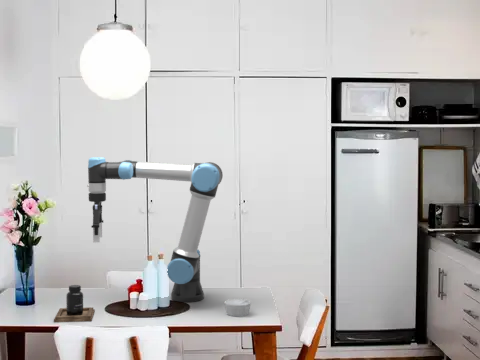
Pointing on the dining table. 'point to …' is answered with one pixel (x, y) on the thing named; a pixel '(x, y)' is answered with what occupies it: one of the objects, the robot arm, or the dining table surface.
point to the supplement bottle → (74, 301)
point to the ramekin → (237, 307)
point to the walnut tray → (64, 317)
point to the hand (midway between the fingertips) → (97, 239)
